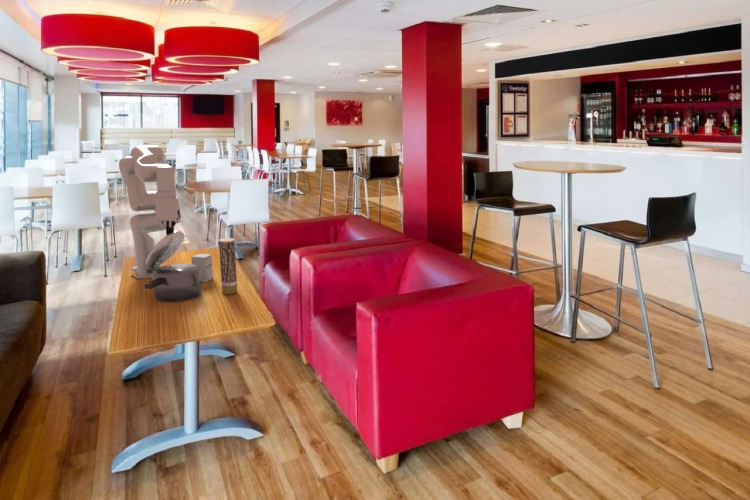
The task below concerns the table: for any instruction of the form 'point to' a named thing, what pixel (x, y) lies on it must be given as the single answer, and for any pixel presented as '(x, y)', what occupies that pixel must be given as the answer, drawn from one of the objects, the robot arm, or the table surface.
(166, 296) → the pressure cooker pot
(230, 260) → the brown cylindrical piece
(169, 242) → the cooker lid
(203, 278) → the supplement box
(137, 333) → the table surface
